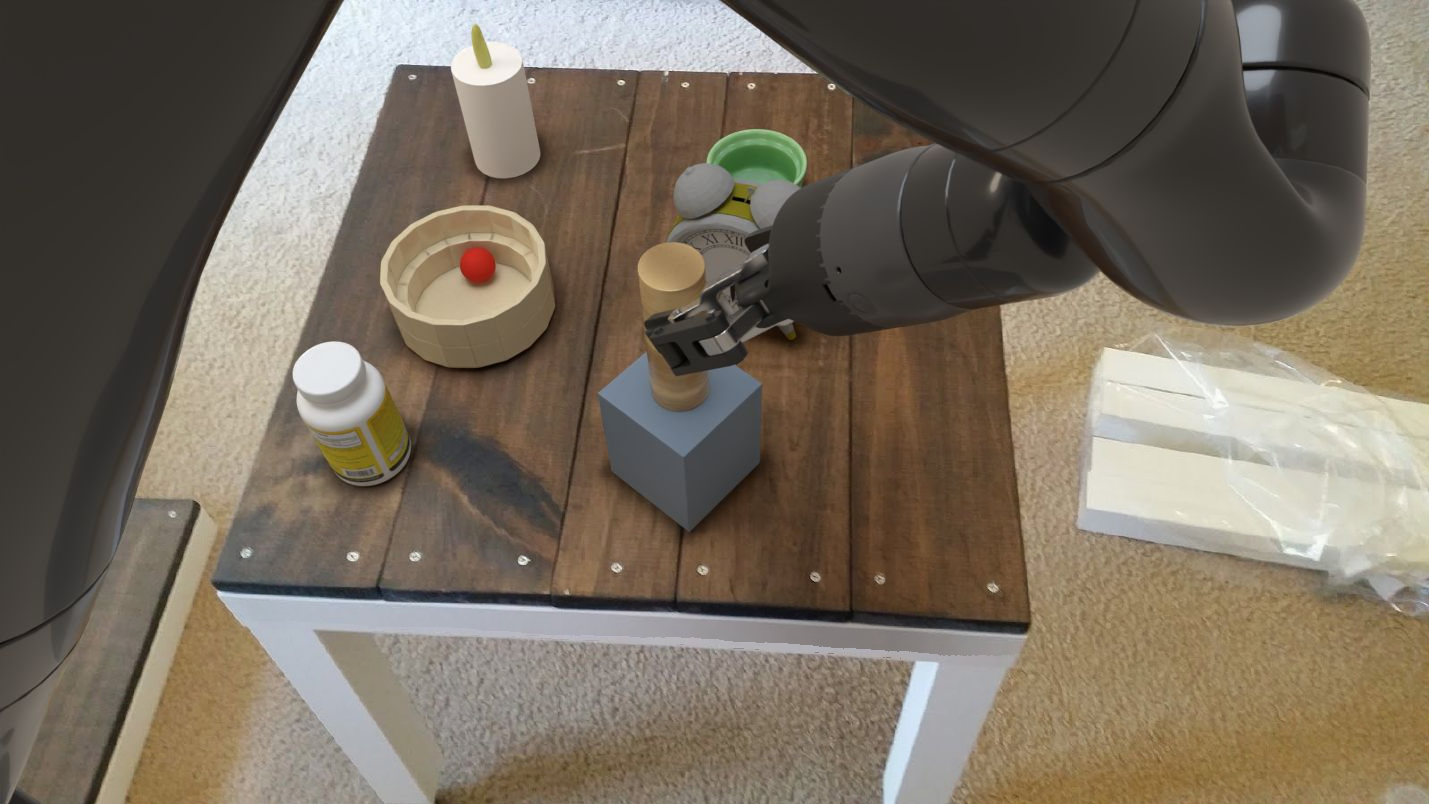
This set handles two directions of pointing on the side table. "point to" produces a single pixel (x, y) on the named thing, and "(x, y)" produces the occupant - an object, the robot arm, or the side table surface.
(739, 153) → the ramekin
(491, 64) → the candle
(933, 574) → the side table surface
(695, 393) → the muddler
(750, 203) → the alarm clock
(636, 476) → the upright slate-blue block
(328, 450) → the pill bottle
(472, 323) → the bowl
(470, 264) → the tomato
